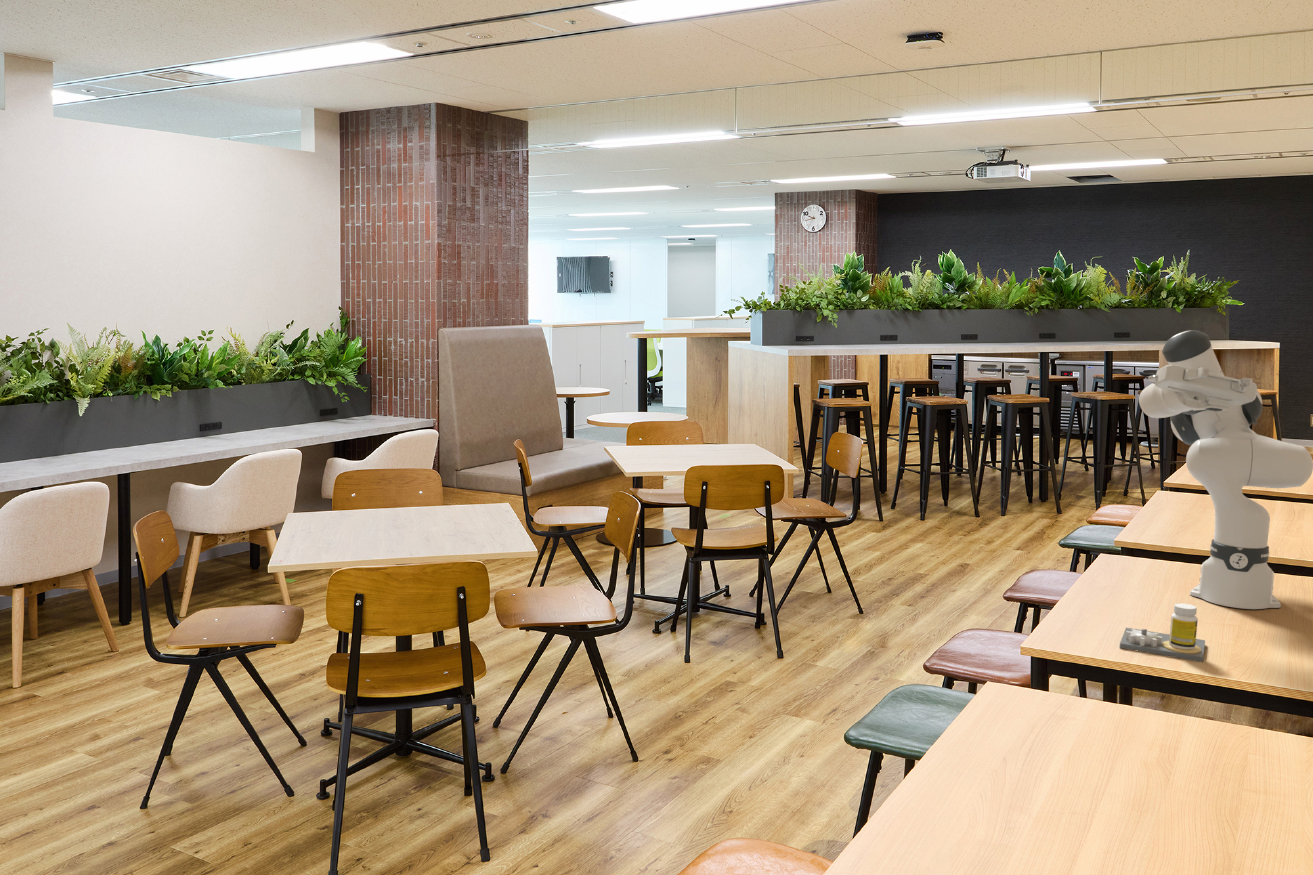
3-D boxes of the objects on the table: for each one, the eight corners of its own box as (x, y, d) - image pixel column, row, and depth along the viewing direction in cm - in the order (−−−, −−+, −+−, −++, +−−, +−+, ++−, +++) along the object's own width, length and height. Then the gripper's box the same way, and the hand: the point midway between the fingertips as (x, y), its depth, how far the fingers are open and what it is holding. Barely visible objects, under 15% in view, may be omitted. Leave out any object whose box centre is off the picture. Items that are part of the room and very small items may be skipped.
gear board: (1125, 631, 218) (1127, 616, 217) (1204, 644, 211) (1206, 628, 210) (1119, 647, 208) (1121, 631, 207) (1202, 662, 200) (1204, 645, 200)
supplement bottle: (1198, 651, 203) (1202, 610, 201) (1173, 649, 203) (1176, 608, 202) (1190, 643, 207) (1194, 603, 206) (1165, 641, 208) (1169, 601, 207)
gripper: (1145, 366, 226) (1181, 351, 212) (1234, 386, 226) (1275, 372, 212) (1141, 393, 225) (1177, 380, 211) (1230, 413, 225) (1271, 401, 211)
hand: (1227, 376), depth 212 cm, fingers open, 8 cm apart
